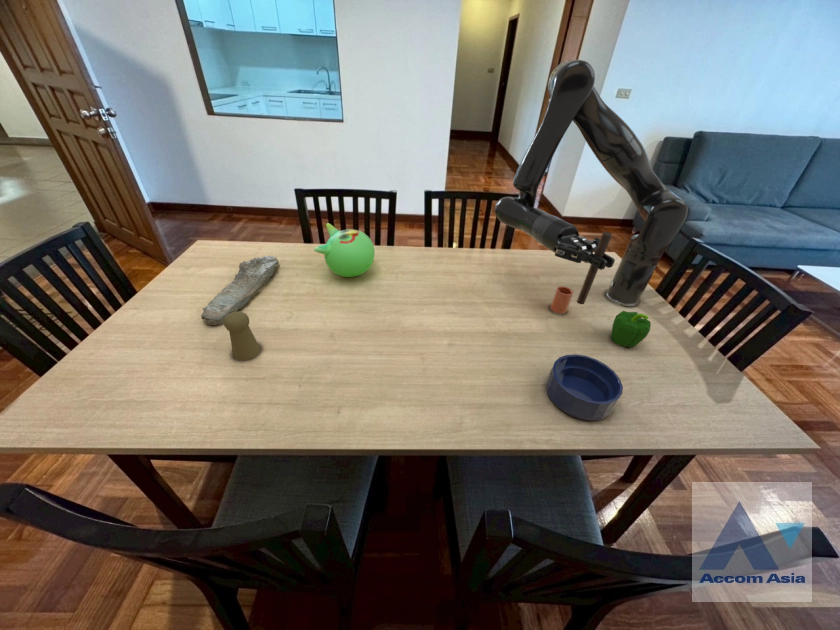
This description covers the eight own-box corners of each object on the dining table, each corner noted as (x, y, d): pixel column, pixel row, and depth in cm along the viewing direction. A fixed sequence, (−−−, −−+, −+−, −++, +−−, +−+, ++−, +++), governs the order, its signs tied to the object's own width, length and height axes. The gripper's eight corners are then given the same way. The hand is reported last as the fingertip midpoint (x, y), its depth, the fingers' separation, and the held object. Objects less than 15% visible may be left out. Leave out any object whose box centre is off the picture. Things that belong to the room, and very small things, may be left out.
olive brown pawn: (265, 347, 87) (255, 311, 80) (248, 363, 82) (235, 326, 76) (245, 340, 88) (233, 305, 82) (227, 356, 84) (213, 320, 77)
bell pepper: (599, 335, 97) (612, 306, 91) (620, 329, 100) (635, 300, 94) (623, 355, 91) (640, 325, 85) (646, 348, 94) (663, 318, 88)
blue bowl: (577, 365, 87) (585, 347, 83) (626, 408, 77) (637, 390, 73) (532, 383, 82) (539, 364, 78) (578, 431, 72) (588, 413, 68)
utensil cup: (558, 304, 108) (565, 284, 104) (569, 312, 105) (577, 293, 101) (546, 307, 107) (553, 288, 102) (557, 316, 103) (565, 296, 99)
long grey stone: (193, 327, 93) (229, 334, 93) (187, 312, 90) (224, 319, 89) (258, 259, 120) (286, 264, 119) (255, 246, 116) (284, 250, 116)
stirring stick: (580, 299, 87) (607, 231, 76) (585, 303, 86) (614, 234, 75) (574, 301, 86) (601, 232, 76) (580, 305, 85) (608, 235, 74)
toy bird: (371, 287, 111) (369, 244, 102) (317, 284, 111) (311, 241, 102) (377, 259, 125) (376, 220, 116) (330, 257, 125) (325, 217, 116)
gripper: (535, 222, 84) (591, 254, 72) (578, 215, 89) (637, 244, 77) (528, 250, 89) (579, 285, 77) (569, 242, 94) (623, 274, 82)
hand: (608, 264), depth 77 cm, fingers closed on stirring stick, 2 cm apart
